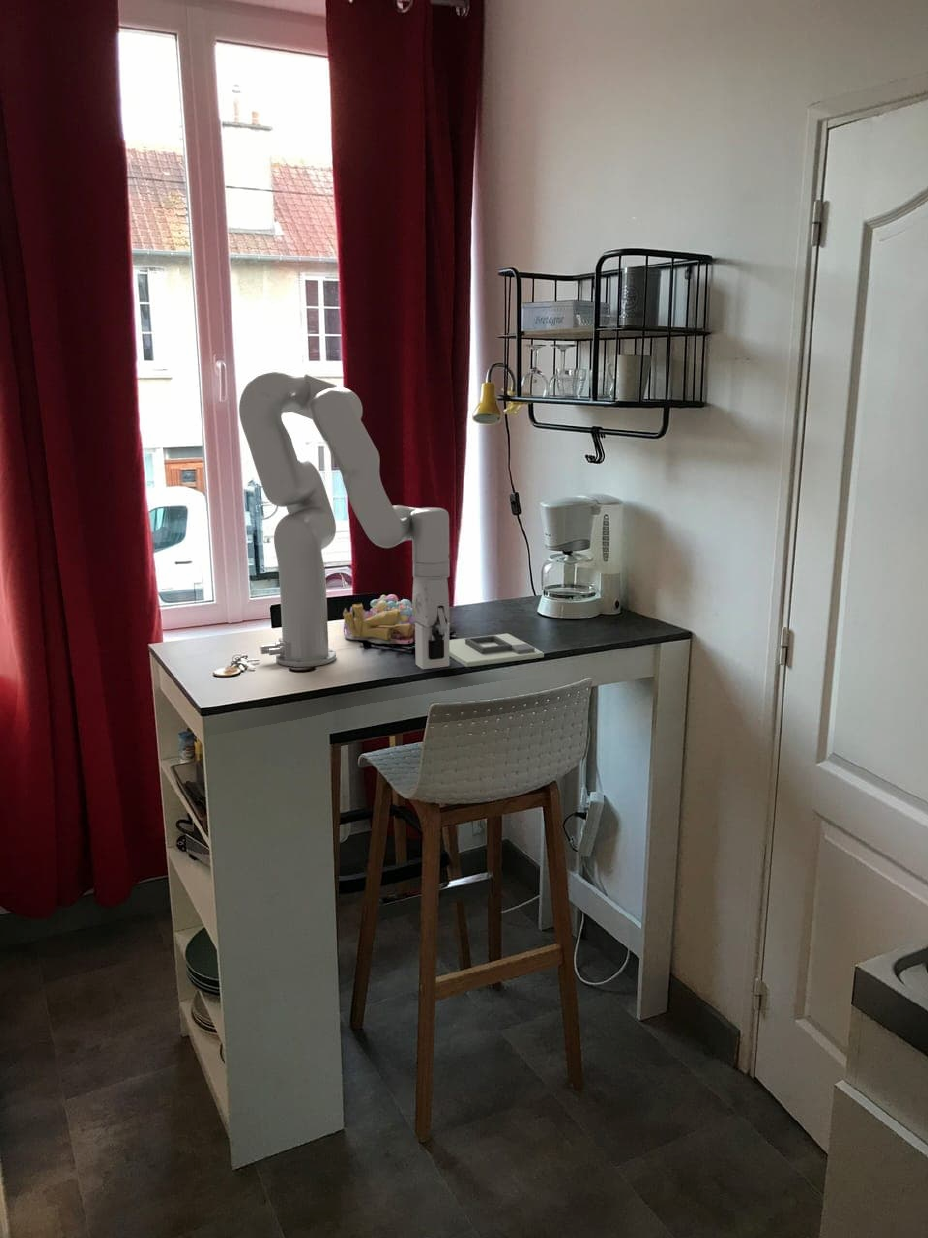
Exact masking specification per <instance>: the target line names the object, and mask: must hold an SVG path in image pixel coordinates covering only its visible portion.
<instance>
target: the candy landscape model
mask: <svg viewBox="0 0 928 1238" xmlns="http://www.w3.org/2000/svg"><path fill="white" fill-rule="evenodd" d="M369 605H370V607H372V608H370V610H367V611H366V610H365V609H364V606H363V604H362V603H361V602H360V603H357V604H356V603H354V604H352V606H350V608H349V611H348V610H347V607H345V608H344V610H343V613H342V615H343V619H344V623H343V625H344V626H343V635H344V638H345V639H348V640H351V641H352V640H353V641H355V640H359V641H367V642H370V643H373V644H379V645H381V644H387V645H391V644H398V645H399V644H400V645H408V644H413V642H414V643H415V623H417V621H416V620H414V619H413V617H412V601H410V600H409V599H405V598H403V599H402V600H401V599H400V598H399V597H398V596H397V595H396V594H395V593H394V594H392V593H391V594H388V595H385V594H382V595H380V597H379V598H378V599H373V600H371V601H370V604H369ZM353 613H354V614H353ZM450 621H451V616H450V615H449V623H448V624H449V630H450V629H451V626H450V625H451V622H450Z"/></svg>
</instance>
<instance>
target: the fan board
mask: <svg viewBox="0 0 928 1238" xmlns="http://www.w3.org/2000/svg"><path fill="white" fill-rule="evenodd" d="M449 657H451V658H452V659H454V660H456V661H457V662H458V663H460V664H461V665H463V666H464V667H465V668H469V667H479V666H485V665H492V664H493V665H494V664H502V663H508V662H515V661H523V660H524V661H525V660H533V659H541V658H542V659H543V658H545V652H543V651H541V650H539V649H538V648H536V647H534V646H532V645H530V644H529V643H527V642H525V641H523V640H521V639H519V638H518V637H515V636H513V635H512V634H509V633H501V634H499V633H498V634H490V635H485V636H483V635H482V636H481V635H480V636H474V637H465V638H455V639H449Z"/></svg>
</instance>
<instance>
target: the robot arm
mask: <svg viewBox="0 0 928 1238" xmlns="http://www.w3.org/2000/svg"><path fill="white" fill-rule="evenodd" d="M238 413H239V420H240V425H241V426H242V430H243V433H244V436H245V439H246V441H247V444H248V447H249V450H250V454H251V457H252V460H253V463H254V466H255V470H256V472H257V475H258V478H259V481H260V484H261V487H262V490H263V493H264V496H265V497H266V499H267V500H268V501H269V502H270V503H271V504H272V505H273V506H277V507H281V508H285V507H286V510H287V513H288V514H286V515H285V516H283V517H282V518H281V519H280V520H279V522H278V523H277V525H276V527H275V529H274V535H273V544H274V546H273V547H274V550H275V555H276V560H277V568H278V577H279V579H278V580H279V596H280V611H281V612H280V614H281V634H282V637H279V638H278V641H277V642H274V643H273V644H269V643H268V644H262V645H260V646H259V647H260V648H259V650H260V653H261V655H267V654H268V656H274V655H275V657H276V659H275V660H276V662H277V663H278V664H280V665H282V666H286V667H291V668H293V667H294V668H308V667H309V668H312V667H319V666H323V665H327V664H329V663H333V662H334V661H335V660H336V658H337V653H336V651H335V650H334V649H332V648H329V630H328V629H329V627H328V604H327V603H328V602H327V601H328V599H327V585H326V583H327V581H326V571H325V570H326V569H325V564H324V560H323V554H322V550H324V549H325V548H327V547H328V546H329V545H330V544H331V543H332V542H333V541H334V540H335V536H336V533H337V523H336V519H335V516H334V513H333V509H332V506H331V503H330V500H329V497H328V494H327V491H326V488H325V484H324V482H323V479H322V477H321V474H320V472H319V470H318V469H317V468H316V466H315V465H314V464H313V463H312V462H311V461H309V460H307V459H305V458H304V457H298V456H297V454H296V451H295V449H294V446H293V442H292V438H291V436H290V432H289V431H288V429H287V428H286V426H285V424H284V422H283V417H282V415H283V413H285V414H286V413H293V414H297V415H300V416H303V417H305V418H309V419H311V420H312V421H313V423H314V425H315V427H316V429H317V431H318V432H319V435H320V437H321V438H322V439H323V441H324V444H325V445H326V447H327V448H328V450H329V452H330V454H331V456H332V458H333V460H334V461H335V464H336V466H337V468H338V470H339V471H340V473H341V476H342V482H343V486H344V487H345V490H346V495H347V498H348V500H349V503H350V506H351V508H352V510H353V512H354V515H355V517H356V518H357V520H358V522H359V524H360V525H361V527H362V528H363V529H362V530H364V533H365V534H366V536H367V538H368V539H369V541H371V542H372V543H373V544H375V546H378V547H380V548H382V549H383V548H384V549H391V548H394V547H396V546H398V545H399V544H401V543H404V542H406V541H407V542H408V541H411V542H412V543H411V544H412V545H411V547H412V548H411V549H412V551H411V553H412V555H411V556H412V557H411V558H412V559H411V560H412V577H413V581H412V591H411V592H412V595H411V598H412V599H411V604H412V617H413V619H414V620H416V621H417V622H419V623H420V624H422V625H424V626H425V627H429V631H430V640H428V643H429V659H431V660H432V659H441V658H444V639H445V637H444V634H445V632H446V631H447V626H446V625H447V624H448V623H449V622H450V621H449V616H450V598H449V597H450V596H449V585H448V578H449V577H450V570H451V569H450V515H449V511H448V510H446V509H444V508H442V507H435V506H434V507H413V506H412V507H411V506H405V505H401V504H397V505H395V504H394V505H392V503H391V501H390V499H389V497H388V495H387V494H386V491H385V489H384V486H383V484H382V480H381V475H380V454H379V450H378V449H377V447H376V446H375V444H374V442H373V440H372V438H371V436H370V435H369V433H368V431H367V429H366V427H365V425H364V423H363V422H362V417H363V405H362V401H361V399H360V398H359V395H357V394H356V392H353V391H352V390H351V389H349V388H346V387H343V386H341V385H337V384H335V383H331V382H328V381H326V380H323V379H321V378H318V377H315V376H312V375H311V374H307V373H305V372H301V371H299V370H293V369H277V368H276V369H267V370H264V371H262V372H260V373H258V374H257V375H255V376H254V377H253V378H251V380H250V381H249V382H247V384H246V386H245V387H244V389H243V390H242V393H241V395H240V399H239V406H238ZM435 622H438V625H434V623H435ZM434 628H438V630H435V632H434Z"/></svg>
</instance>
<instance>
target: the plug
mask: <svg viewBox="0 0 928 1238" xmlns="http://www.w3.org/2000/svg"><path fill="white" fill-rule="evenodd" d="M434 625H438V622H435V623H434ZM446 626H447V631H446V632H445V634H444V637H445V639H444V658H441V659H432V660H431V659H429V643H428V640H430V631H429V627H425V626H424V625H422V624H420V623H419V622H417V623H415V641H414V647H415V652H414V653H415V654H414V656H415V665H416V666H417V667H419V669H421V670H429V669H438V668H445V667H450V656H449V640H450V629H449V624H447V625H446ZM435 630H438V628H434V632H435Z"/></svg>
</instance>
